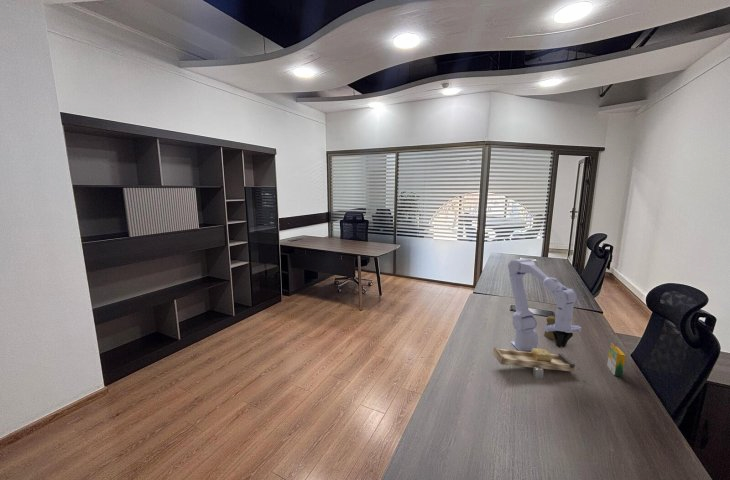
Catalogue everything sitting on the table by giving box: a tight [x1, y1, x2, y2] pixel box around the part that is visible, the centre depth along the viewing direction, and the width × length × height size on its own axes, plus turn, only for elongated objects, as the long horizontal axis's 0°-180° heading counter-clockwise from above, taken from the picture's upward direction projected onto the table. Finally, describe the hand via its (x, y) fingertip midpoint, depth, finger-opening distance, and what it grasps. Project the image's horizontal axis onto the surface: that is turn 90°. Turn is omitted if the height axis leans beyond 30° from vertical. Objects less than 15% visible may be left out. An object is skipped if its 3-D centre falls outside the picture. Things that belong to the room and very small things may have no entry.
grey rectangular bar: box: [532, 367, 544, 379], centre depth 127 cm, size 3×14×4 cm, turn 179°
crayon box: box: [606, 342, 626, 378], centre depth 124 cm, size 7×3×12 cm, turn 160°
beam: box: [492, 346, 576, 372], centre depth 127 cm, size 31×9×4 cm, turn 89°
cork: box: [543, 315, 556, 340], centre depth 154 cm, size 6×6×11 cm
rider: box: [530, 347, 553, 362], centre depth 126 cm, size 6×5×4 cm
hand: (560, 346), depth 126 cm, fingers closed
